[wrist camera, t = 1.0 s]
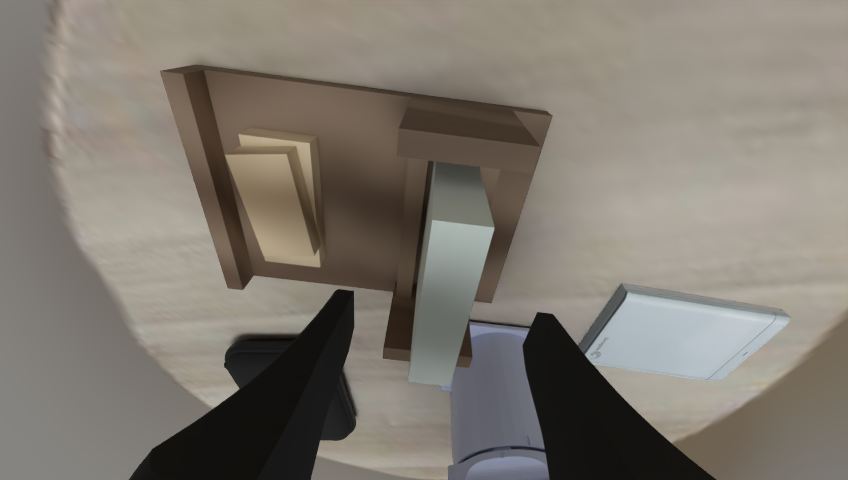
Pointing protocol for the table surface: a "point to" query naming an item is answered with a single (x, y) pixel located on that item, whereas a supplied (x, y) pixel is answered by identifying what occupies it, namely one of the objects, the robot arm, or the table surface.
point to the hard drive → (678, 333)
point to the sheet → (448, 269)
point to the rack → (356, 176)
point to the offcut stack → (281, 194)
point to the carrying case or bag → (259, 353)
